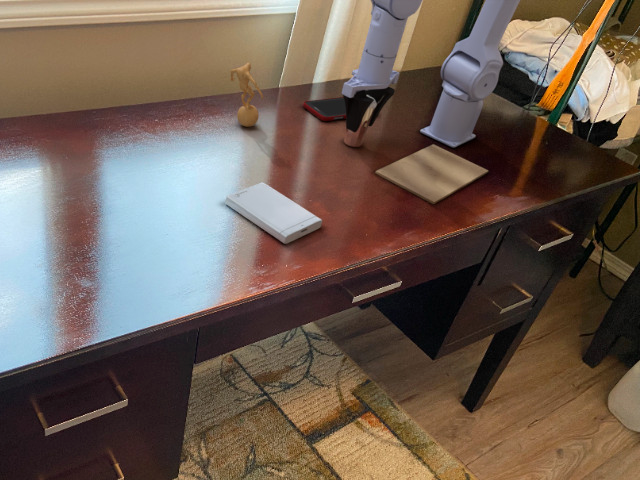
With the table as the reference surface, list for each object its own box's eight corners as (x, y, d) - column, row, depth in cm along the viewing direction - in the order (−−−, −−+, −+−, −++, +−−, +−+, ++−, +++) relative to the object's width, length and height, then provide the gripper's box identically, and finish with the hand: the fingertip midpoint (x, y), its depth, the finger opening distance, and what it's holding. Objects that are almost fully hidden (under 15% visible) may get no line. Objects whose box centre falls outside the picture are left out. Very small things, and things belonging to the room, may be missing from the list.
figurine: (269, 132, 113) (280, 68, 106) (245, 139, 110) (255, 73, 102) (239, 114, 117) (248, 51, 110) (215, 120, 114) (223, 56, 106)
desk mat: (432, 146, 119) (433, 144, 118) (487, 173, 113) (488, 170, 113) (374, 173, 107) (375, 170, 106) (433, 204, 101) (434, 202, 101)
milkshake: (368, 152, 113) (384, 99, 106) (339, 145, 113) (354, 92, 107) (368, 142, 116) (384, 90, 110) (341, 135, 116) (355, 84, 110)
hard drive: (225, 195, 91) (286, 235, 85) (263, 181, 96) (323, 218, 90) (224, 205, 92) (284, 245, 86) (262, 190, 97) (321, 227, 91)
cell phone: (378, 114, 127) (380, 110, 126) (323, 122, 120) (324, 117, 119) (355, 99, 131) (356, 95, 131) (300, 106, 125) (301, 101, 124)
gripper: (384, 38, 110) (364, 110, 119) (336, 50, 101) (318, 126, 110) (417, 52, 106) (394, 124, 115) (370, 65, 98) (349, 142, 106)
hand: (359, 126), depth 112 cm, fingers closed on milkshake, 4 cm apart
